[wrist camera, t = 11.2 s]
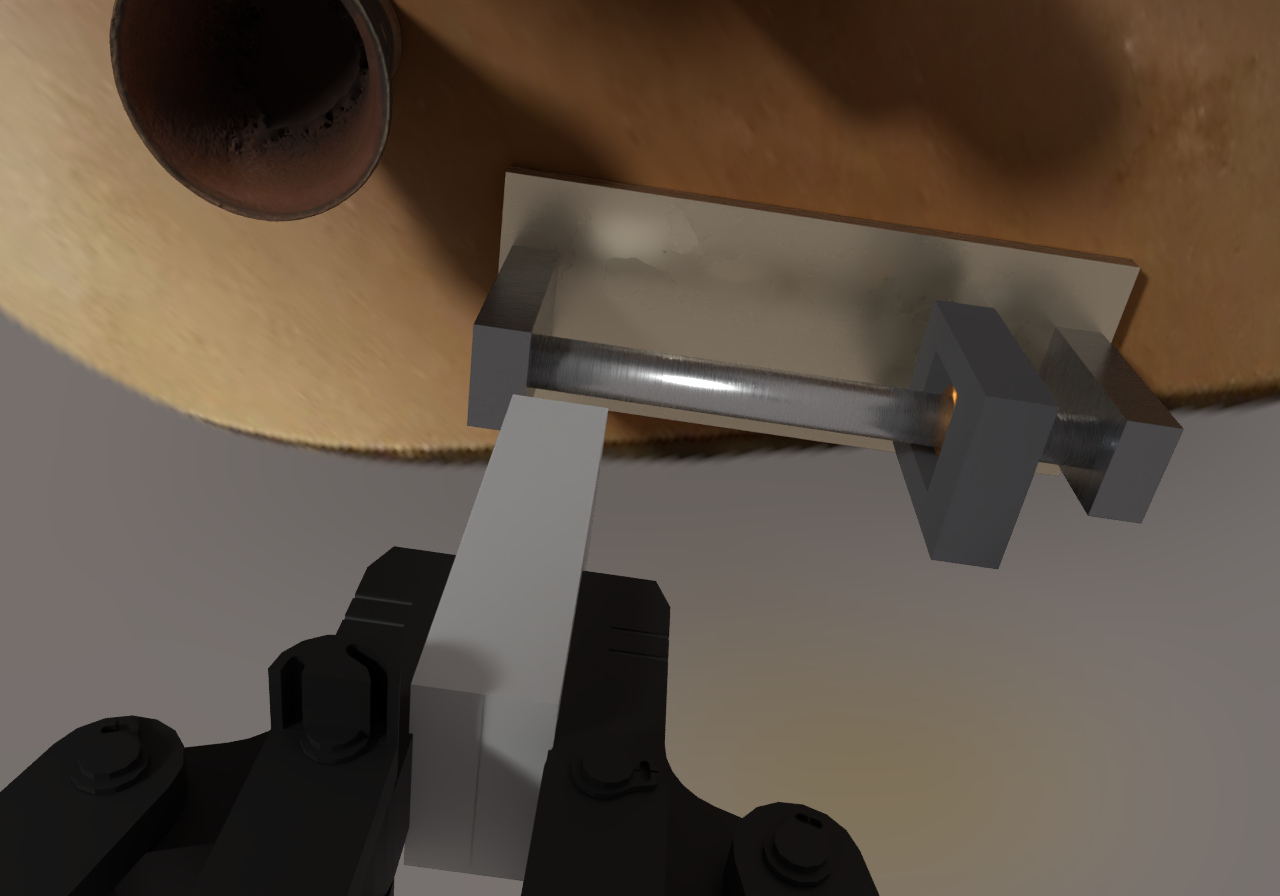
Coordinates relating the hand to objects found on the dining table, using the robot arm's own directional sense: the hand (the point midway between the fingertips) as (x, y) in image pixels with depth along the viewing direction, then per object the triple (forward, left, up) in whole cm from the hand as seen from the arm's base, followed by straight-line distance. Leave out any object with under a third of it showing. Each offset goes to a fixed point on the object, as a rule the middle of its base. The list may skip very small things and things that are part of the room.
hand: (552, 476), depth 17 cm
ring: (+14, -8, -25) cm, 30 cm away
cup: (-12, +1, -29) cm, 31 cm away
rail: (+8, -8, -28) cm, 31 cm away
